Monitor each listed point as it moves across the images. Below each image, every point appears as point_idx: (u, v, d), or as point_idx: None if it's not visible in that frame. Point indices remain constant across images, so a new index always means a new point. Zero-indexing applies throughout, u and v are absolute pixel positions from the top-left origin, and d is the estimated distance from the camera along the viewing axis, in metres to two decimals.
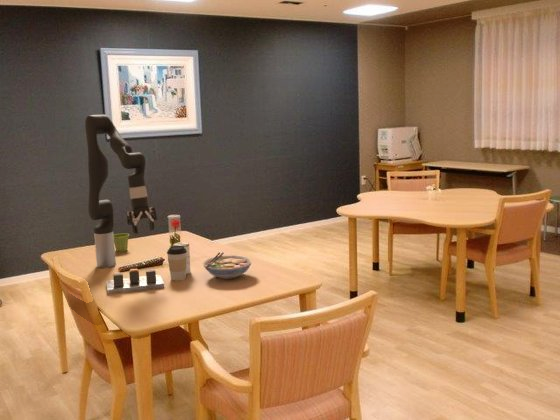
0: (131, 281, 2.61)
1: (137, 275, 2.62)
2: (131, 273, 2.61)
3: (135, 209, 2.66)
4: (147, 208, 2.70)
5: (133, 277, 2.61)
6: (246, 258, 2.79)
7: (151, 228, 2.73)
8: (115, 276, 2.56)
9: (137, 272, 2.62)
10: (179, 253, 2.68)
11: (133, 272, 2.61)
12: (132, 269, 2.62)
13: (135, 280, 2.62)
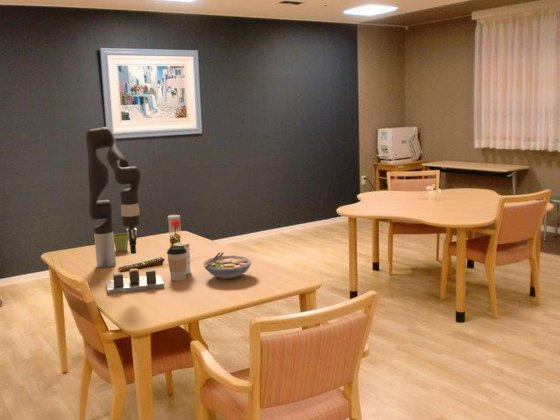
0: (131, 281, 2.61)
1: (137, 275, 2.62)
2: (131, 273, 2.61)
3: (134, 227, 2.49)
4: None
5: (133, 277, 2.61)
6: (246, 258, 2.79)
7: None
8: (115, 276, 2.56)
9: (137, 272, 2.62)
10: (179, 253, 2.68)
11: (133, 272, 2.61)
12: (132, 269, 2.62)
13: (135, 280, 2.62)
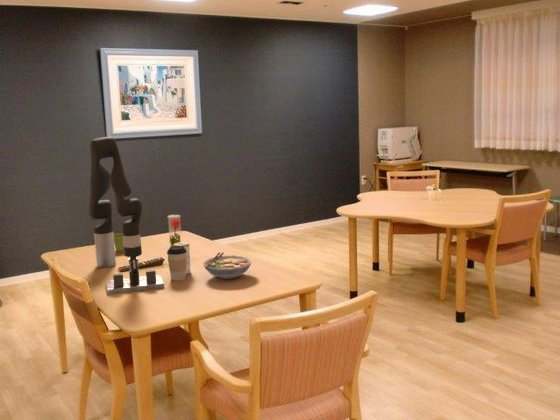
0: (131, 281, 2.62)
1: (137, 275, 2.62)
2: None
3: (135, 258, 2.54)
4: None
5: None
6: (246, 258, 2.79)
7: None
8: (115, 276, 2.56)
9: None
10: (179, 253, 2.68)
11: None
12: None
13: None
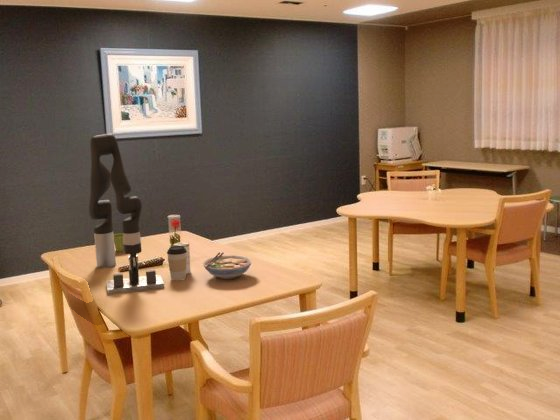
0: (131, 279, 2.64)
1: None
2: None
3: (135, 255, 2.57)
4: None
5: None
6: (246, 258, 2.79)
7: None
8: (115, 276, 2.56)
9: None
10: (179, 253, 2.68)
11: None
12: None
13: None
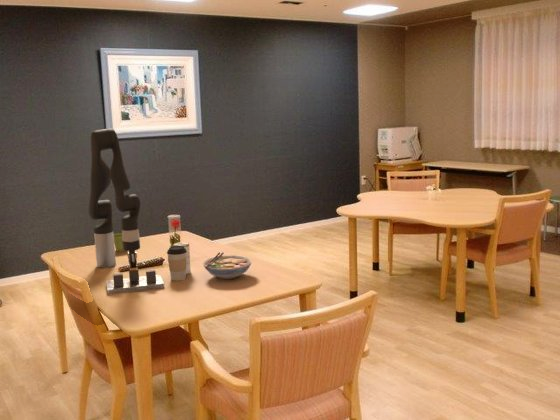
0: (131, 280, 2.63)
1: (137, 274, 2.64)
2: (131, 272, 2.63)
3: (134, 252, 2.64)
4: None
5: (133, 276, 2.63)
6: (246, 258, 2.79)
7: None
8: (115, 276, 2.56)
9: (137, 271, 2.63)
10: (179, 253, 2.68)
11: (133, 271, 2.63)
12: (132, 268, 2.64)
13: (135, 279, 2.64)
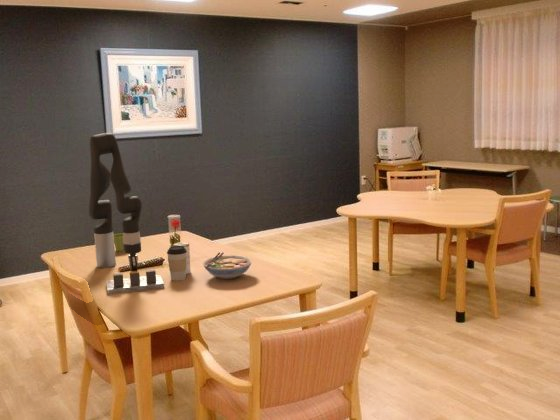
0: (132, 283, 2.58)
1: (138, 277, 2.59)
2: (132, 275, 2.58)
3: (135, 255, 2.59)
4: None
5: (134, 279, 2.58)
6: (246, 258, 2.79)
7: None
8: (115, 276, 2.56)
9: (138, 274, 2.59)
10: (179, 253, 2.68)
11: (134, 274, 2.58)
12: (133, 271, 2.59)
13: (136, 282, 2.59)
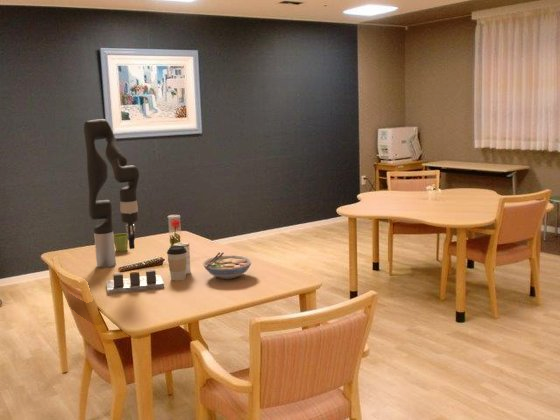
0: (132, 283, 2.59)
1: (138, 277, 2.59)
2: (132, 275, 2.58)
3: (132, 223, 2.60)
4: None
5: (134, 279, 2.59)
6: (246, 258, 2.79)
7: None
8: (115, 276, 2.56)
9: (138, 274, 2.59)
10: (179, 253, 2.68)
11: (134, 274, 2.58)
12: (133, 271, 2.59)
13: (136, 282, 2.59)
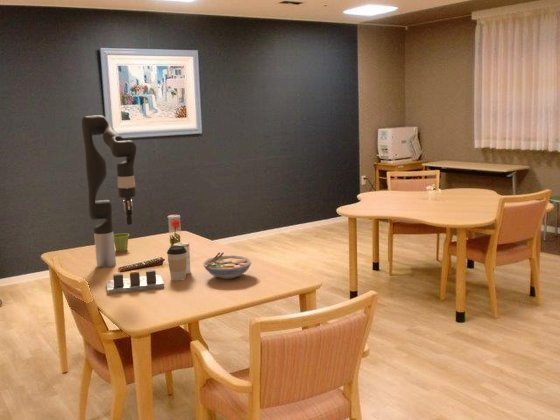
0: (132, 283, 2.59)
1: (138, 277, 2.59)
2: (132, 275, 2.58)
3: (130, 198, 2.60)
4: None
5: (134, 279, 2.59)
6: (246, 258, 2.79)
7: None
8: (115, 276, 2.56)
9: (138, 274, 2.59)
10: (179, 253, 2.68)
11: (134, 274, 2.58)
12: (133, 271, 2.59)
13: (136, 282, 2.59)
